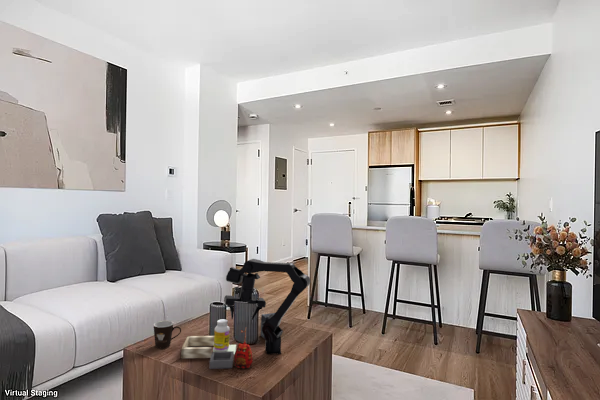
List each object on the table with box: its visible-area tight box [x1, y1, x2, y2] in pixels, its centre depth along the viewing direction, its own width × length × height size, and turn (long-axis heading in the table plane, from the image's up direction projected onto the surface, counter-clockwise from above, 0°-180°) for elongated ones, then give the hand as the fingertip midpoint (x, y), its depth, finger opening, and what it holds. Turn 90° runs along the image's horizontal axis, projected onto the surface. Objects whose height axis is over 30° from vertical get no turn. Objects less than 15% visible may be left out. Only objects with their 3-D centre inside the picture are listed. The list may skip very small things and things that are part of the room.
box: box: [259, 312, 276, 340], centre depth 178 cm, size 8×6×11 cm
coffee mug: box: [153, 320, 182, 349], centre depth 162 cm, size 12×9×10 cm
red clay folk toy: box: [233, 328, 253, 370], centre depth 146 cm, size 8×7×15 cm
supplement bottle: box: [213, 318, 231, 352], centre depth 159 cm, size 7×7×13 cm
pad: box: [212, 344, 237, 355], centre depth 160 cm, size 10×10×1 cm
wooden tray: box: [180, 335, 214, 359], centre depth 158 cm, size 12×14×4 cm
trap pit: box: [208, 351, 235, 370], centre depth 147 cm, size 9×9×3 cm
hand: (241, 319), depth 164 cm, fingers open, 9 cm apart
